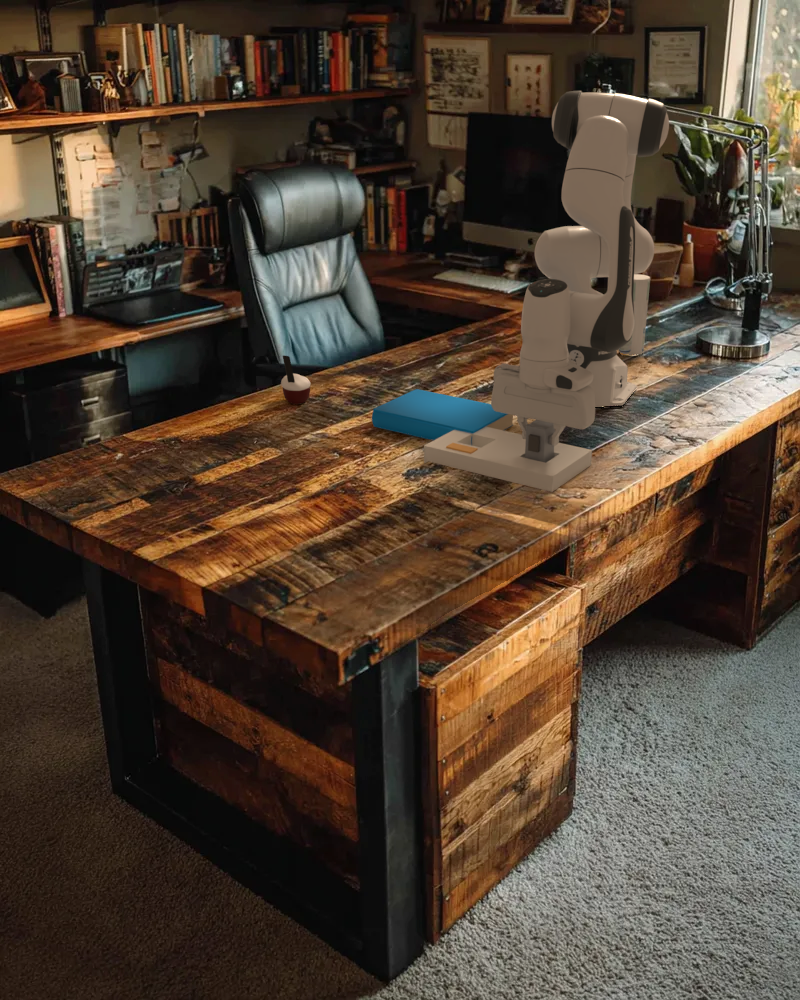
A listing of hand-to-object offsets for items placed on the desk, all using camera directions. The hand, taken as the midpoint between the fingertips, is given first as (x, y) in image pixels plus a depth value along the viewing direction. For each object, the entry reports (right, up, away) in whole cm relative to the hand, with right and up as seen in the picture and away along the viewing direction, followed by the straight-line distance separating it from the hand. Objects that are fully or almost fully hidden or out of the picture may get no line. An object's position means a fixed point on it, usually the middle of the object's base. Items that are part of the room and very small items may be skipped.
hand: (540, 441), depth 205 cm
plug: (0, -5, +2) cm, 6 cm away
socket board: (-6, -5, +6) cm, 10 cm away
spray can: (+34, +27, +78) cm, 89 cm away
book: (-17, +4, +26) cm, 32 cm away
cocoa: (-50, +11, +44) cm, 68 cm away
